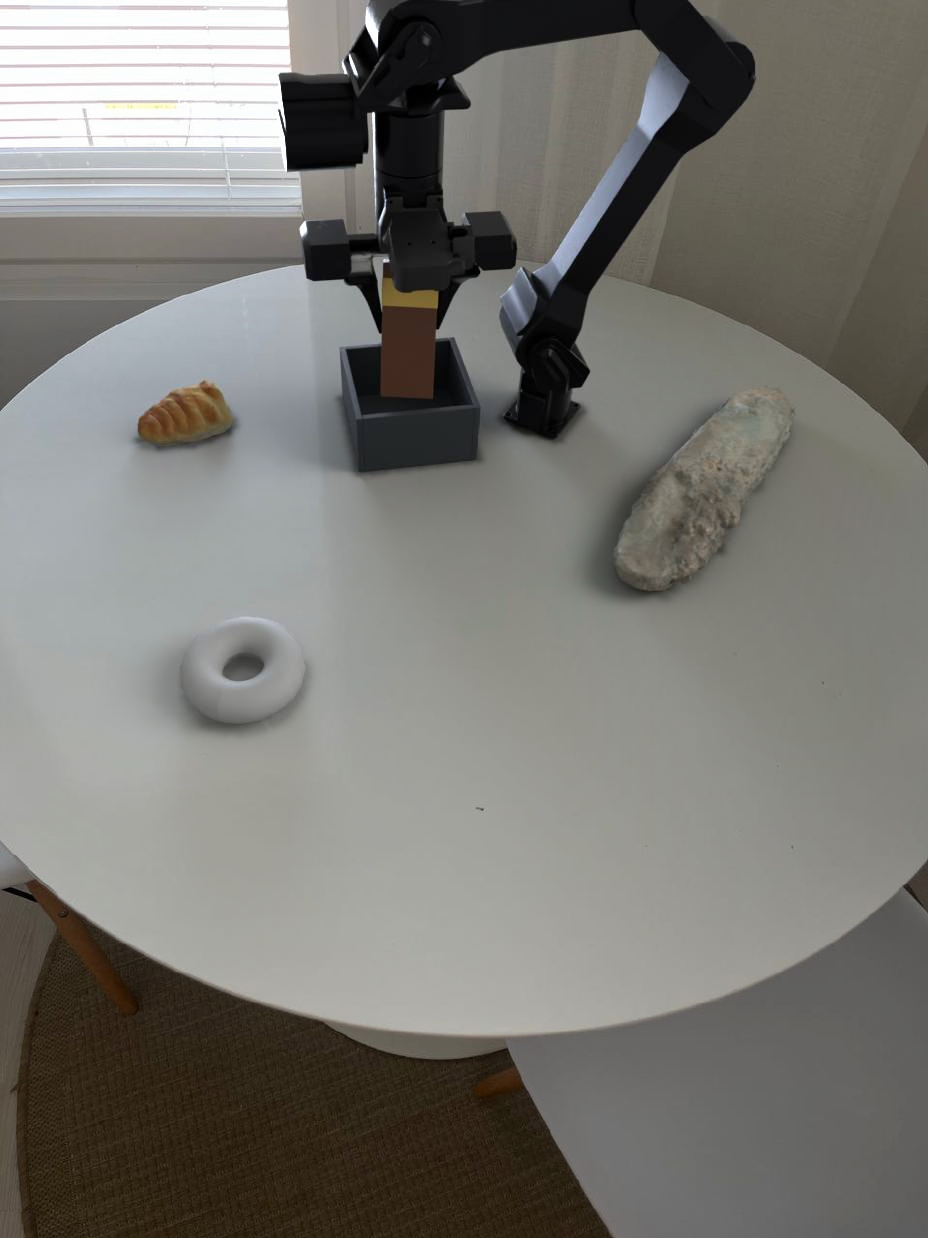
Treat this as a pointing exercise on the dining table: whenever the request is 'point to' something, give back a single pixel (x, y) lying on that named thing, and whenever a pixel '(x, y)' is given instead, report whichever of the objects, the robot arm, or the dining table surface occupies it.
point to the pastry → (186, 416)
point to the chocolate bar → (407, 340)
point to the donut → (248, 696)
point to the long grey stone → (702, 490)
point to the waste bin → (409, 412)
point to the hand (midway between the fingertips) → (408, 329)
